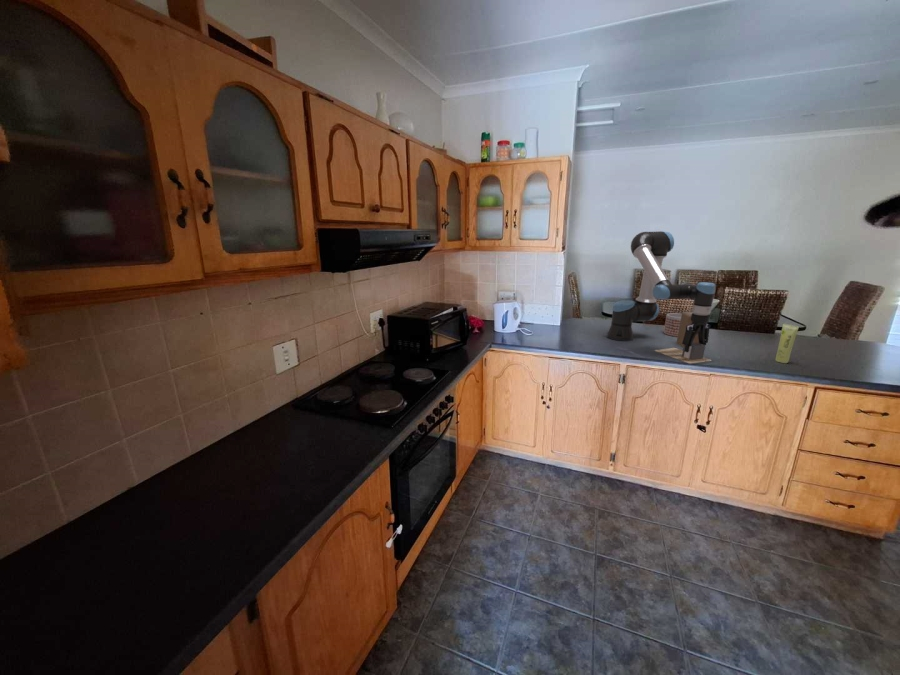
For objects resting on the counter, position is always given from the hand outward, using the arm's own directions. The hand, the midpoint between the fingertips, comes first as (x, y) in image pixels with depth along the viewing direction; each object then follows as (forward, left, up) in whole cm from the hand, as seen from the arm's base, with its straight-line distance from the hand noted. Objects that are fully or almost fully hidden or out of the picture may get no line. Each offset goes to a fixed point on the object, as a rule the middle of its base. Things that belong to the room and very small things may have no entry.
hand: (692, 356), depth 184 cm
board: (-6, 0, -2) cm, 6 cm away
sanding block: (0, 0, -1) cm, 1 cm away
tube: (+15, +42, -2) cm, 45 cm away
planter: (-41, +35, -2) cm, 54 cm away
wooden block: (-18, +19, -2) cm, 26 cm away
